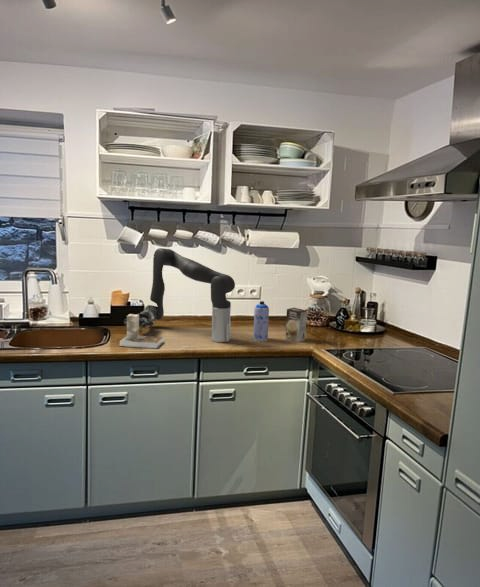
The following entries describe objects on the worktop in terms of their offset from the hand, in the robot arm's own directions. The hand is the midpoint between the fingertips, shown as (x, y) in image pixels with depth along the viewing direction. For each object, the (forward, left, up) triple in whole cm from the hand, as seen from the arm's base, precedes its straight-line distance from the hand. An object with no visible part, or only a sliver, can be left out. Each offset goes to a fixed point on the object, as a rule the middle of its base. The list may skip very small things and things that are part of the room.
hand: (134, 325), depth 225 cm
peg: (0, +3, -9) cm, 9 cm away
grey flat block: (-5, +3, -9) cm, 10 cm away
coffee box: (-79, -24, -9) cm, 83 cm away
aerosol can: (-61, -20, -9) cm, 64 cm away
